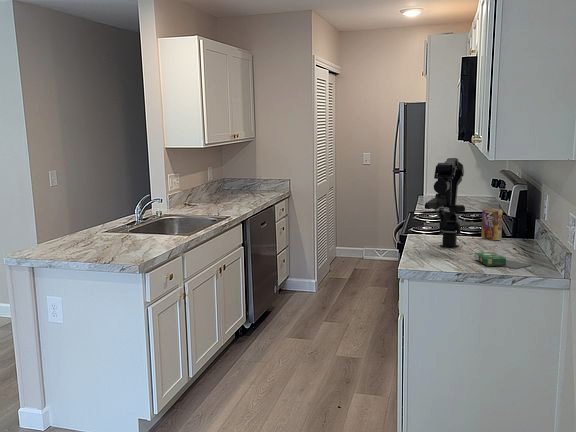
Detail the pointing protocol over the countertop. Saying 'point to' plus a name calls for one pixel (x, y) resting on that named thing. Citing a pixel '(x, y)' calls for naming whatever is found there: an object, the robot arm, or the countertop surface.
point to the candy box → (491, 224)
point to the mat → (515, 264)
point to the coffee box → (490, 258)
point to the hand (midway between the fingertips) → (443, 226)
